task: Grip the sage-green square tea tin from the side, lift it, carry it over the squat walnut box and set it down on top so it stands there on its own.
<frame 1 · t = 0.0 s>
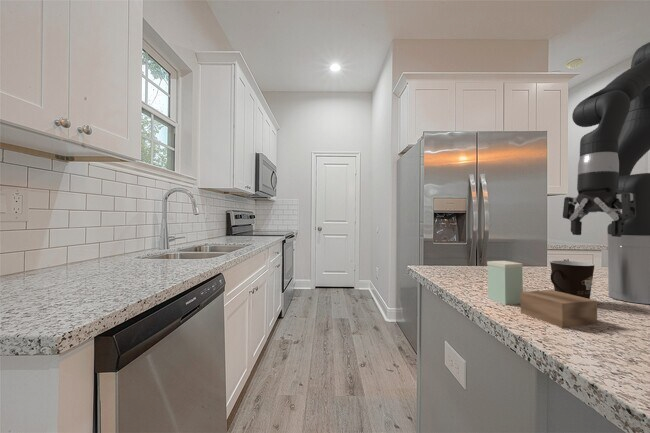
hand: (595, 235, 70), 17 cm above the countertop, tool pointing down, fingers open, 8 cm apart
tea tin: (505, 301, 72), on the countertop
coffee mug: (565, 302, 72), on the countertop
walnut box: (556, 319, 59), on the countertop
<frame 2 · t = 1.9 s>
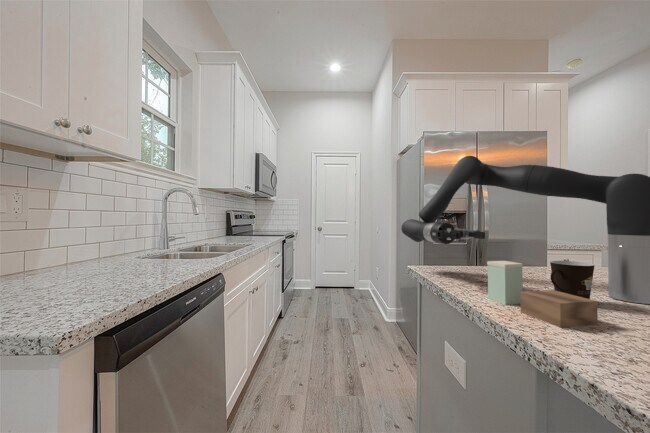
hand: (472, 235, 83), 17 cm above the countertop, tool horizontal, fingers open, 8 cm apart
nothing on the countertop moved.
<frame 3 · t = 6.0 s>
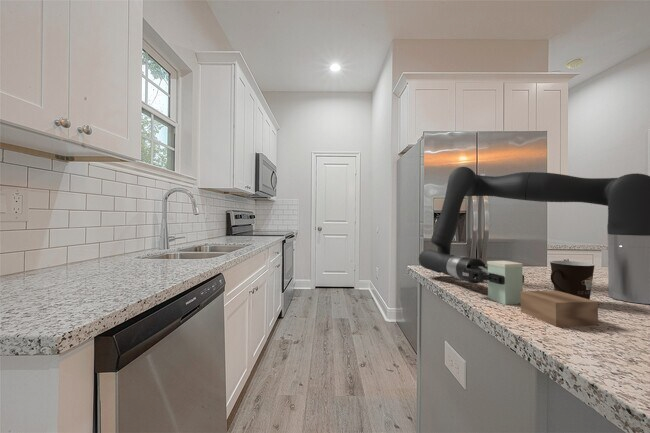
hand: (513, 279, 70), 6 cm above the countertop, tool horizontal, fingers closed on tea tin, 5 cm apart
tea tin: (504, 300, 72), on the countertop, touching gripper
everything else where it was.
when the fingers open (12 cm above the countertop, at t = 10.6 s): tea tin stays where it is, resting on walnut box.
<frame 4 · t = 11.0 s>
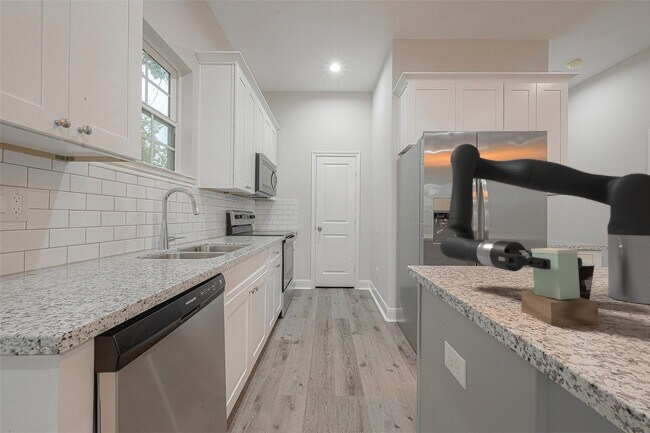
hand: (565, 263, 58), 12 cm above the countertop, tool horizontal, fingers open, 8 cm apart
tea tin: (556, 295, 59), point 5 cm above the countertop, touching walnut box
walnut box: (556, 319, 59), on the countertop, touching tea tin
everything else where it was.
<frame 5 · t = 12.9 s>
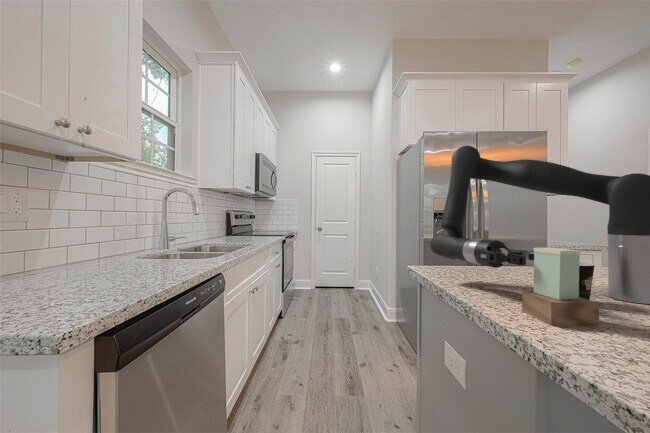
hand: (539, 260, 63), 12 cm above the countertop, tool horizontal, fingers open, 8 cm apart
tea tin: (555, 295, 60), point 5 cm above the countertop
walnut box: (557, 319, 59), on the countertop
everything else where it was.
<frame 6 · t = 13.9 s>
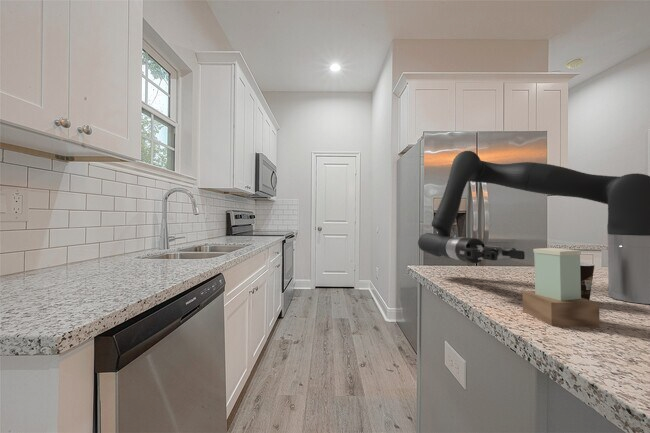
hand: (510, 255, 71), 12 cm above the countertop, tool horizontal, fingers open, 8 cm apart
tea tin: (557, 296, 59), point 5 cm above the countertop, touching walnut box
walnut box: (558, 319, 59), on the countertop, touching tea tin
everything else where it was.
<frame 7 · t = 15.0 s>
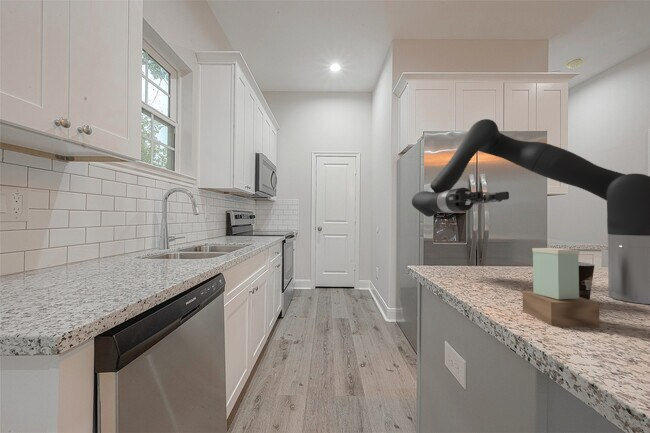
hand: (495, 195, 75), 28 cm above the countertop, tool horizontal, fingers open, 8 cm apart
tea tin: (555, 295, 59), point 5 cm above the countertop
walnut box: (558, 319, 59), on the countertop
everything else where it was.
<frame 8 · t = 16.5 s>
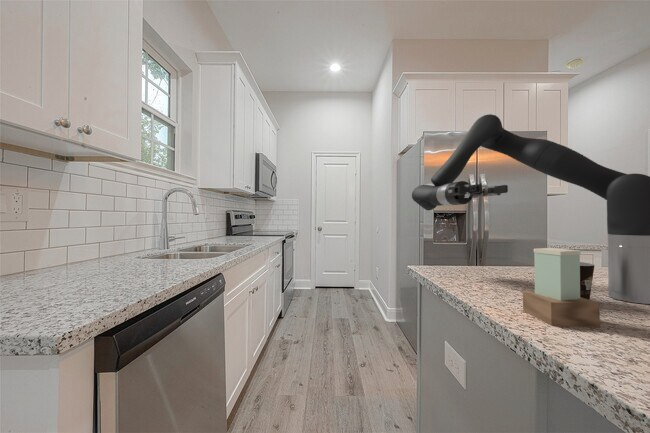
hand: (493, 188, 76), 30 cm above the countertop, tool horizontal, fingers open, 8 cm apart
tea tin: (556, 296, 60), point 5 cm above the countertop, touching walnut box
walnut box: (558, 319, 59), on the countertop, touching tea tin
everything else where it was.
at the end: tea tin inside the target area on the walnut box (0.3 cm from its centre), point 5.0 cm above the walnut box's base; tea tin tilted 1°; the gripper is holding nothing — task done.
